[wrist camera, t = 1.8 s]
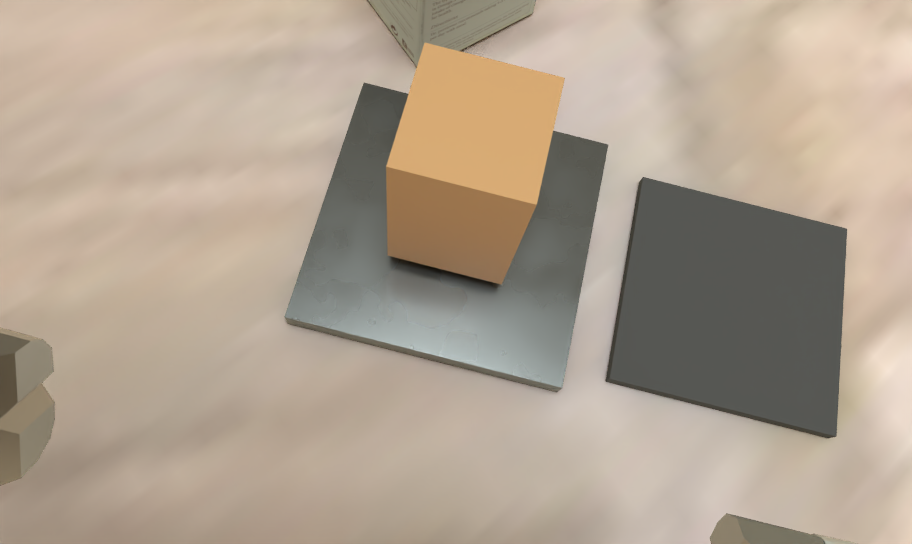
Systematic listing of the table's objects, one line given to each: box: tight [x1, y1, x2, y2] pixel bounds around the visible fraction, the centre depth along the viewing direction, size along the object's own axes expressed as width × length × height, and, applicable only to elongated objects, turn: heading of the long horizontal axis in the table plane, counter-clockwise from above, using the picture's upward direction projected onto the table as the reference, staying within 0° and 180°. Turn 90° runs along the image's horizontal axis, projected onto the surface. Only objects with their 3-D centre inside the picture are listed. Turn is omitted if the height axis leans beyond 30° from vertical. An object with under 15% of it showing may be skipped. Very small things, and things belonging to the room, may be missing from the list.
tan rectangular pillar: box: [386, 43, 565, 285], centre depth 28 cm, size 5×5×8 cm
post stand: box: [285, 83, 608, 392], centre depth 29 cm, size 12×12×9 cm
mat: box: [606, 177, 847, 438], centre depth 33 cm, size 10×10×1 cm
